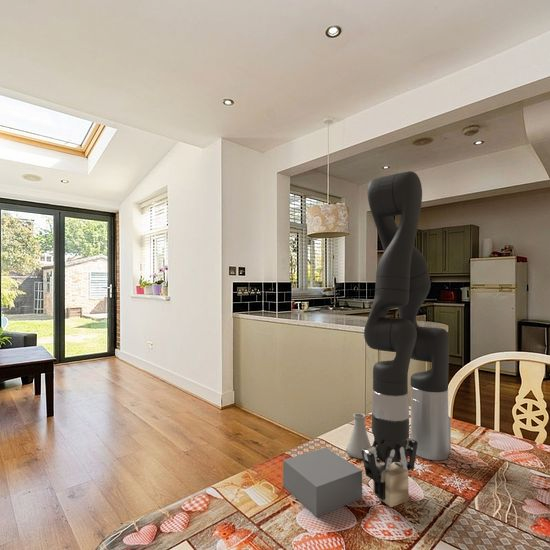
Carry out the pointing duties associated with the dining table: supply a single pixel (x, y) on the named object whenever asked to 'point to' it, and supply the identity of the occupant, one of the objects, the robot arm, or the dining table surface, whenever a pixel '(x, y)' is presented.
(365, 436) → the flask
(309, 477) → the grey box
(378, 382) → the robot arm
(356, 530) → the dining table surface
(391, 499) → the birch block
